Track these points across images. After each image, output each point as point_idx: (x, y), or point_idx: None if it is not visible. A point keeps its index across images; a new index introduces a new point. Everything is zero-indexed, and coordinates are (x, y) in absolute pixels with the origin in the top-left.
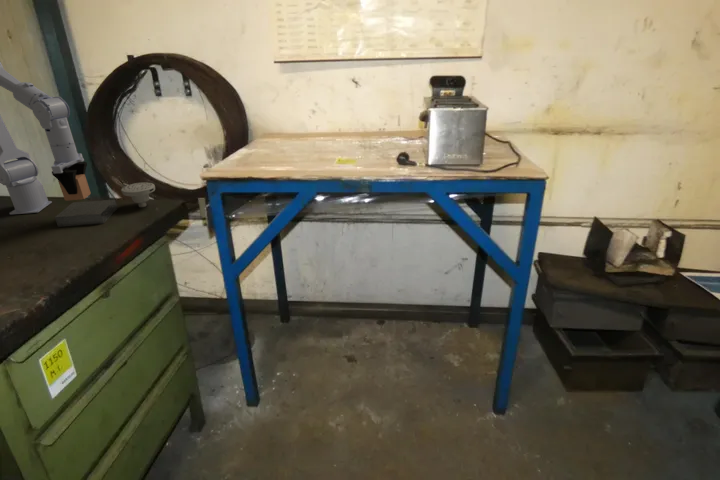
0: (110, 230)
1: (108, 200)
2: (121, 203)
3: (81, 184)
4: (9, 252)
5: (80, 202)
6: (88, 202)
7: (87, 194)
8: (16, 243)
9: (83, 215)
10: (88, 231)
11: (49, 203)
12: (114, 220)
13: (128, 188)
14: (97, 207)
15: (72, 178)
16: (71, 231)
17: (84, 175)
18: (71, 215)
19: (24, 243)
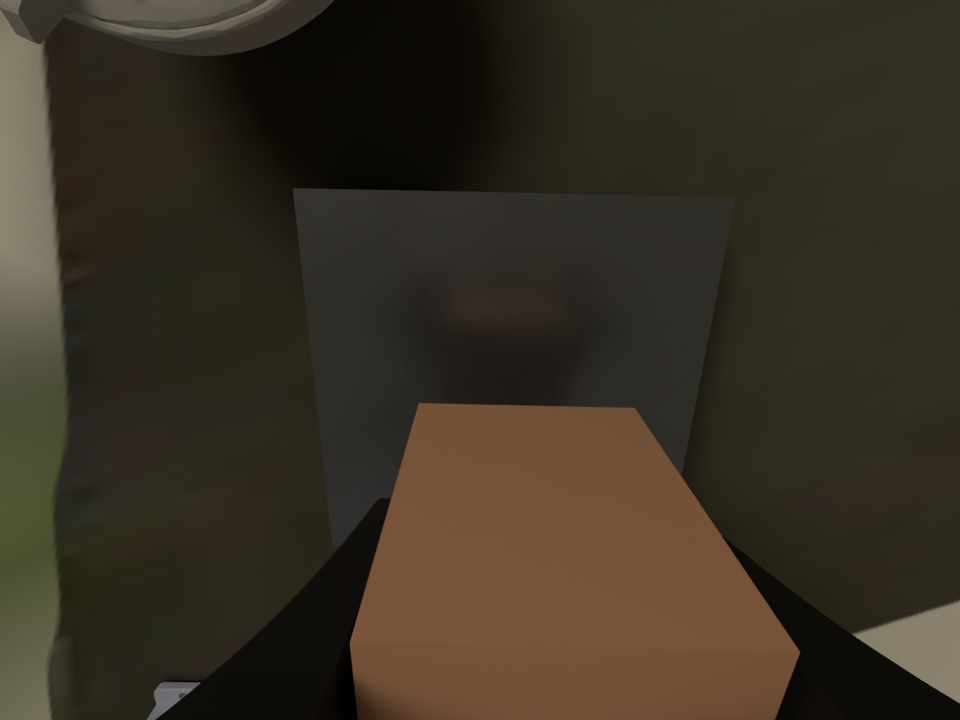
0: (896, 73)
1: (314, 253)
2: (181, 194)
3: (630, 526)
4: (955, 593)
5: (339, 491)
6: (350, 427)
7: (513, 414)
8: (829, 609)
9: (703, 355)
10: (826, 265)
11: (193, 685)
12: (643, 117)
13: None
14: (520, 296)
15: None
16: (767, 388)
17: (383, 618)
18: (674, 449)
19: (851, 574)
